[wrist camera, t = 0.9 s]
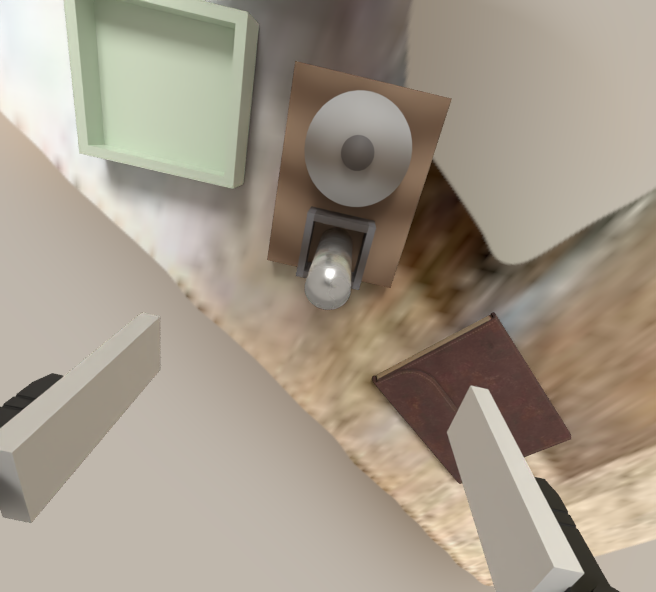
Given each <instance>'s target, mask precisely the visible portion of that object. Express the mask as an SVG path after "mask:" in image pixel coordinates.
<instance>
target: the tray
mask: <svg viewBox="0 0 656 592" xmlns="http://www.w3.org/2000/svg"><path fill="white" fill-rule="evenodd" d="M64 9H65V18H66V28H67V38H68V47H69V57H70V67H71V76H72V86H73V96H74V105H75V115H76V125H77V134H78V144H79V153H80V154H84V155H89V156H93V157H97V158H102V159H106V160H110V161H115V162H119V163H123V164H128V165H132V166H136V167H141V168H145V169H149V170H154V171H158V172H162V173H167V174H171V175H175V176H180V177H184V178H188V179H193V180H197V181H201V182H206V183H210V184H214V185H219V186H223V187H227V188H232V189H234V188H236V187H238V186H240V185H243V184H244V175H245V165H246V154H247V144H248V134H249V124H250V114H251V103H252V93H253V83H254V73H255V63H256V52H257V42H258V32H259V24H258V23H257V21H256V20H255V19H254V18H253V17H252V16H251V15H250V14H249V13H248V12H246V11H242V10H238V9H234V8H230V7H226V6H221V5H217V4H213V3H209V2H205V1H201V0H64Z"/></svg>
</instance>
